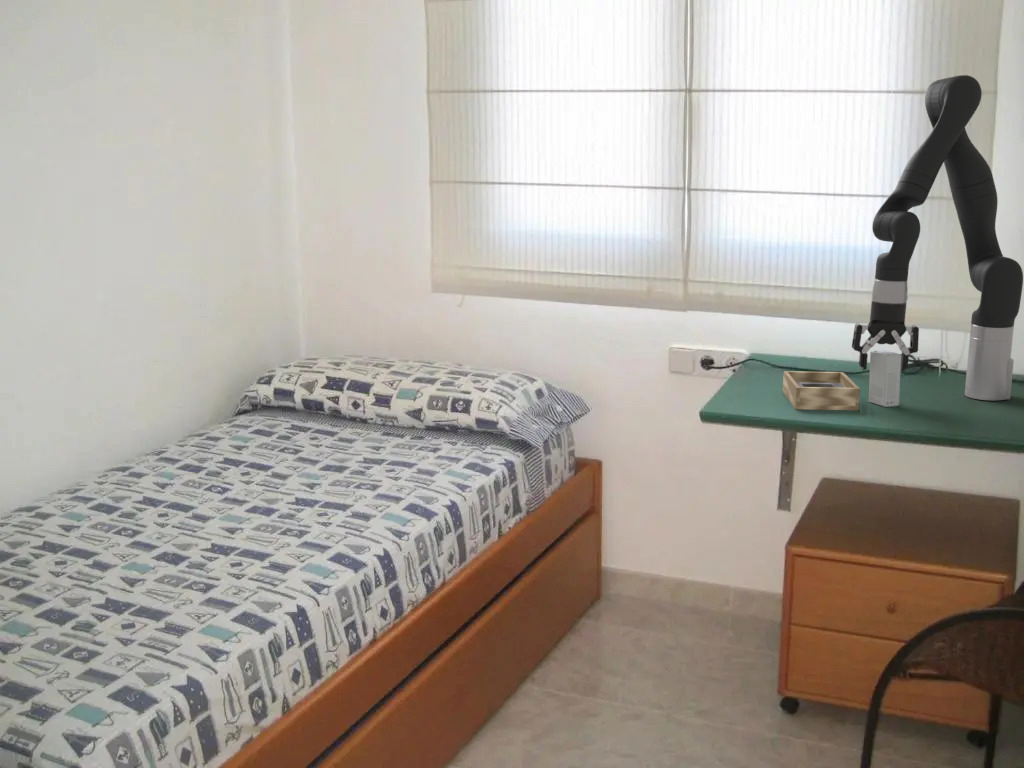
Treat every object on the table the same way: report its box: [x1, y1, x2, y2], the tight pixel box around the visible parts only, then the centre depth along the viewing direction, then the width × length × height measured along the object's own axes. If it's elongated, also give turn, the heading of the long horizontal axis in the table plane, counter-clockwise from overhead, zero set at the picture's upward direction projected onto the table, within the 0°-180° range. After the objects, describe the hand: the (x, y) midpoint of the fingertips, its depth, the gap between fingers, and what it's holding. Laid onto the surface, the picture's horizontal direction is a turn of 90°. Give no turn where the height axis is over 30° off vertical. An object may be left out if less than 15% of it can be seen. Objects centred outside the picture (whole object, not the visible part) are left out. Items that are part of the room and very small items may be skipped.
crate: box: [782, 370, 861, 411], centre depth 260 cm, size 14×18×5 cm
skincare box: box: [868, 349, 902, 408], centre depth 256 cm, size 6×4×12 cm
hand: (882, 369), depth 256 cm, fingers open, 8 cm apart
